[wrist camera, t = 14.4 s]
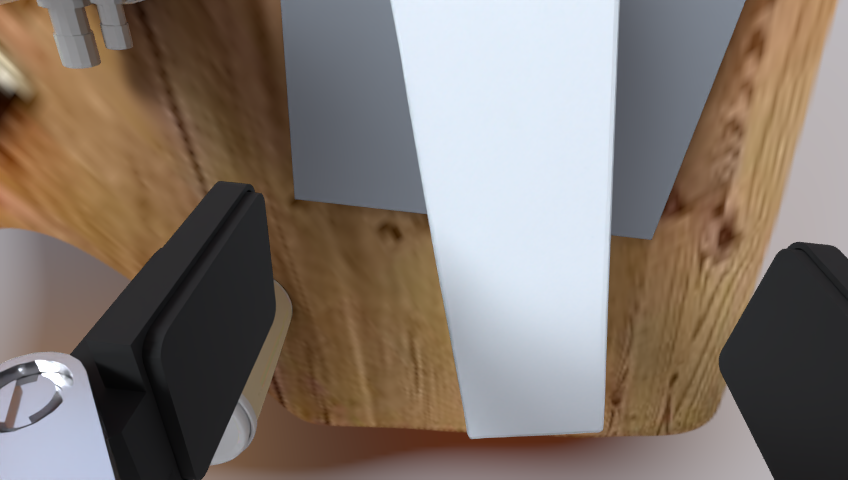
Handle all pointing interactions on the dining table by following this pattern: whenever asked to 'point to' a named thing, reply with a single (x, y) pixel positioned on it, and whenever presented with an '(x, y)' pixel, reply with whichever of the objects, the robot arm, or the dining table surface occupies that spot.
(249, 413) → the coffee cup
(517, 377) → the skincare box
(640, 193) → the podium
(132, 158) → the dining table surface
